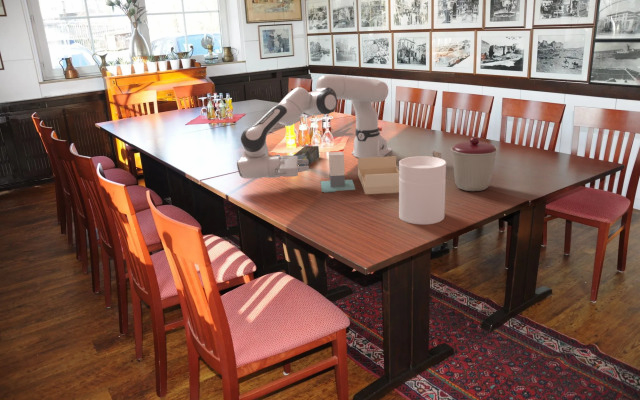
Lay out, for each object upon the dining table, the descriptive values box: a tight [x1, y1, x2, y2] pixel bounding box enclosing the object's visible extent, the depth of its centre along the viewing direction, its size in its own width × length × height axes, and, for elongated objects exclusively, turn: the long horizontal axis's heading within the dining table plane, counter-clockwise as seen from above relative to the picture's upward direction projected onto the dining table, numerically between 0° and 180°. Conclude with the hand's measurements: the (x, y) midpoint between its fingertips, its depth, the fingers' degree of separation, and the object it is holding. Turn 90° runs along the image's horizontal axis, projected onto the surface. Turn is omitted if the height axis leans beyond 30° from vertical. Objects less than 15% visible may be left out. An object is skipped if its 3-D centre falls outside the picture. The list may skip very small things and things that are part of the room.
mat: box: [320, 179, 356, 193], centre depth 223 cm, size 14×14×1 cm
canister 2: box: [450, 136, 499, 192], centre depth 210 cm, size 18×18×21 cm
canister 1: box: [398, 155, 447, 225], centre depth 183 cm, size 16×16×20 cm
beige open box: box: [357, 155, 399, 195], centre depth 222 cm, size 17×27×8 cm, turn 2°
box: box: [328, 151, 346, 187], centre depth 221 cm, size 6×5×14 cm
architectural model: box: [429, 150, 442, 159], centre depth 245 cm, size 3×7×7 cm, turn 30°
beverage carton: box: [292, 145, 320, 167], centre depth 264 cm, size 8×19×7 cm, turn 162°
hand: (308, 164), depth 220 cm, fingers open, 8 cm apart
